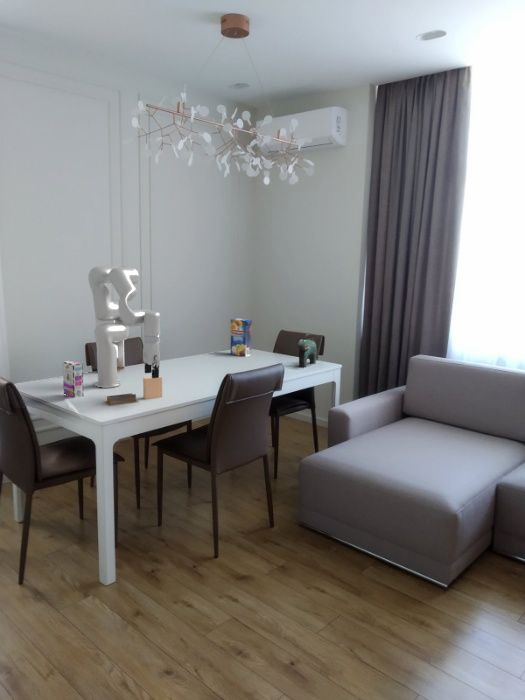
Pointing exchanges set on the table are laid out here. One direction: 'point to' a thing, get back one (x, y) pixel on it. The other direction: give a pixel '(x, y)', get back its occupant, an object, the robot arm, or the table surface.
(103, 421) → the table surface
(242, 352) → the juice carton
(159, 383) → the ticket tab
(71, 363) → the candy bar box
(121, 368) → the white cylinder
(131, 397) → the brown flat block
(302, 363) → the green elephant figurine
